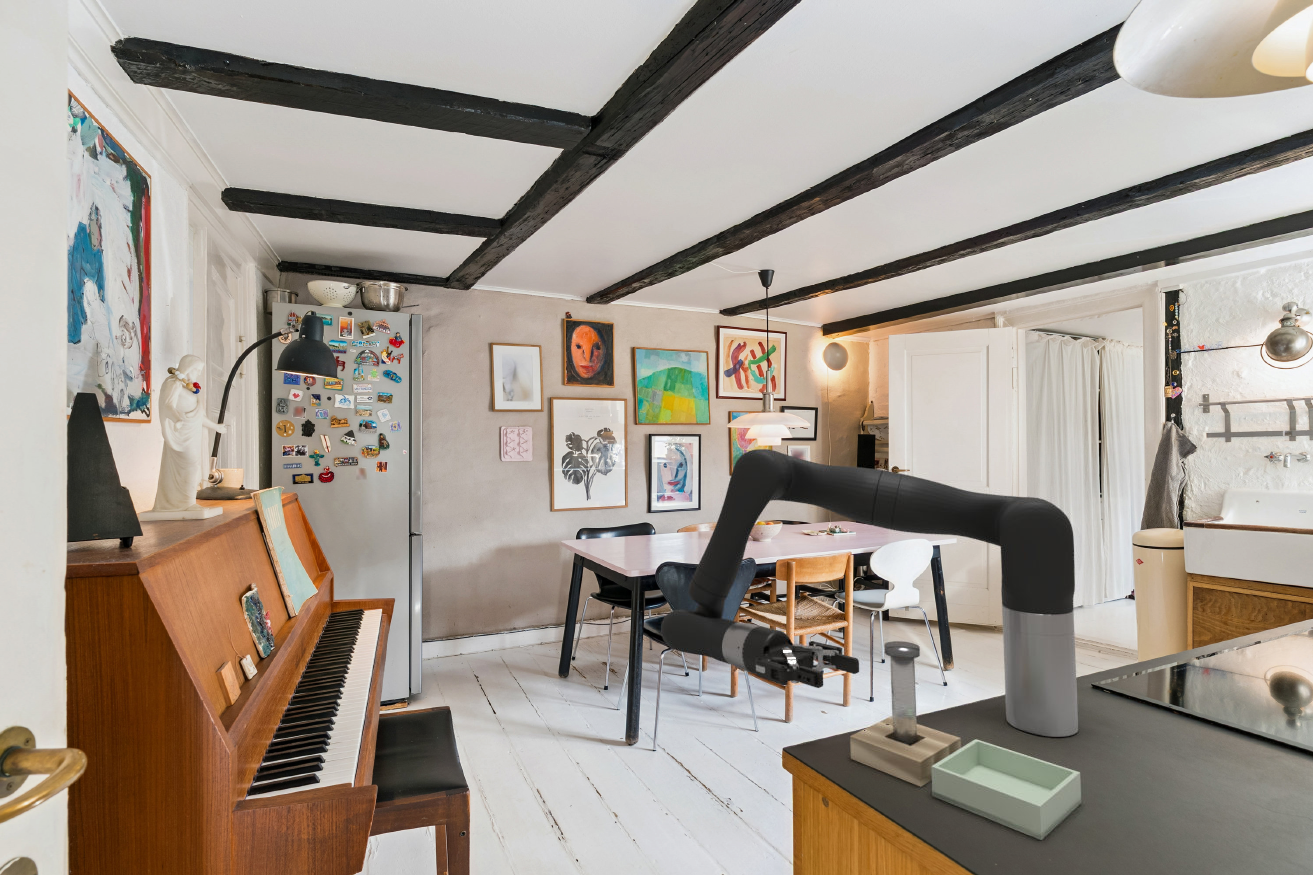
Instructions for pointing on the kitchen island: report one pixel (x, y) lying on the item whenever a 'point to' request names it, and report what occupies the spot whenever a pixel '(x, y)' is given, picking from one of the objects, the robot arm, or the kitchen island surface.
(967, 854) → the kitchen island surface
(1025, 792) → the green tray
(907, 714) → the steel pin
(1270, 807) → the kitchen island surface
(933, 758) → the socket block
